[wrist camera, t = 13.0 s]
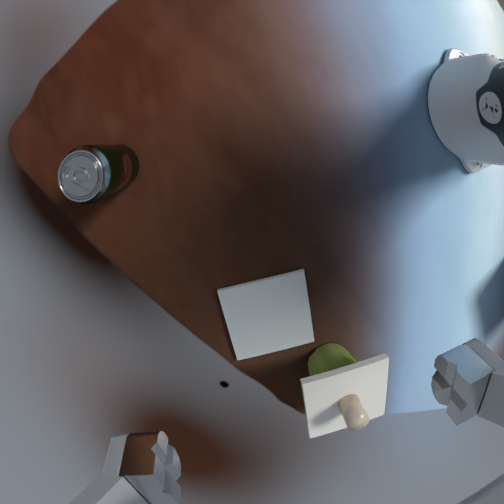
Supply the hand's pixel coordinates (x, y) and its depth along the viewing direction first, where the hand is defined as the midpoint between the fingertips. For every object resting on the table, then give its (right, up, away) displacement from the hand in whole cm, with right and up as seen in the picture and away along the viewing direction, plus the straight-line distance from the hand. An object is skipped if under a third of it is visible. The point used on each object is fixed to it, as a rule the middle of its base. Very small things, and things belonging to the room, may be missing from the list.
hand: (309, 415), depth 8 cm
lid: (+11, -14, +30) cm, 35 cm away
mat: (+1, -4, +34) cm, 34 cm away
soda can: (-17, +14, +26) cm, 34 cm away
